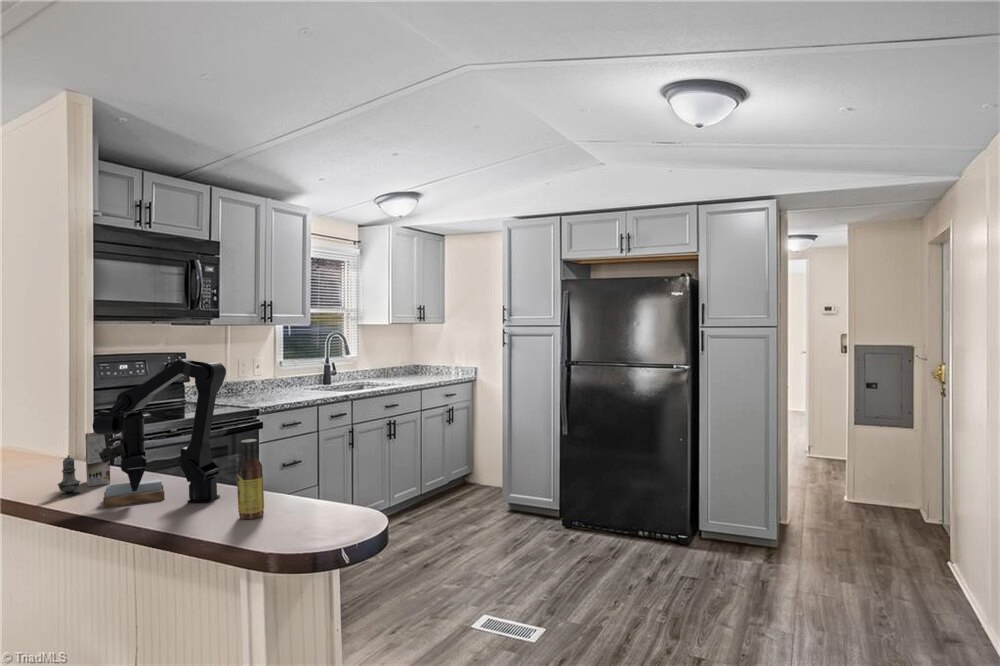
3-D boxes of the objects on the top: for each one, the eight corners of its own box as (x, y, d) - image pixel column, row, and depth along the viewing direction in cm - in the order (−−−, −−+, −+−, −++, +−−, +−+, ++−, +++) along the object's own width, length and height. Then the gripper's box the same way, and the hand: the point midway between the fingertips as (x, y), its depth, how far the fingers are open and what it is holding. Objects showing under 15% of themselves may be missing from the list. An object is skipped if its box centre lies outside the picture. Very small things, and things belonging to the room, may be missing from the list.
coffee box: (111, 483, 208) (109, 433, 208) (87, 487, 204) (85, 436, 204) (109, 478, 215) (107, 430, 215) (86, 481, 212) (85, 432, 212)
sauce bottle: (244, 513, 170) (242, 438, 170) (268, 513, 170) (266, 437, 169) (233, 520, 163) (231, 442, 163) (258, 520, 163) (256, 441, 163)
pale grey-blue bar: (161, 495, 192) (161, 479, 192) (162, 498, 188) (161, 481, 188) (106, 503, 185) (105, 485, 185) (105, 506, 181) (105, 488, 181)
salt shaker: (69, 497, 191) (68, 457, 191) (52, 496, 192) (51, 456, 192) (85, 492, 197) (84, 453, 197) (69, 491, 198) (68, 452, 198)
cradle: (163, 492, 194) (163, 484, 194) (164, 499, 186) (164, 490, 186) (104, 500, 187) (104, 491, 186) (103, 507, 179) (103, 498, 179)
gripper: (101, 432, 190) (102, 485, 190) (98, 441, 174) (100, 499, 174) (144, 428, 196) (145, 480, 196) (145, 437, 180) (147, 493, 180)
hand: (134, 487), depth 186 cm, fingers open, 9 cm apart
